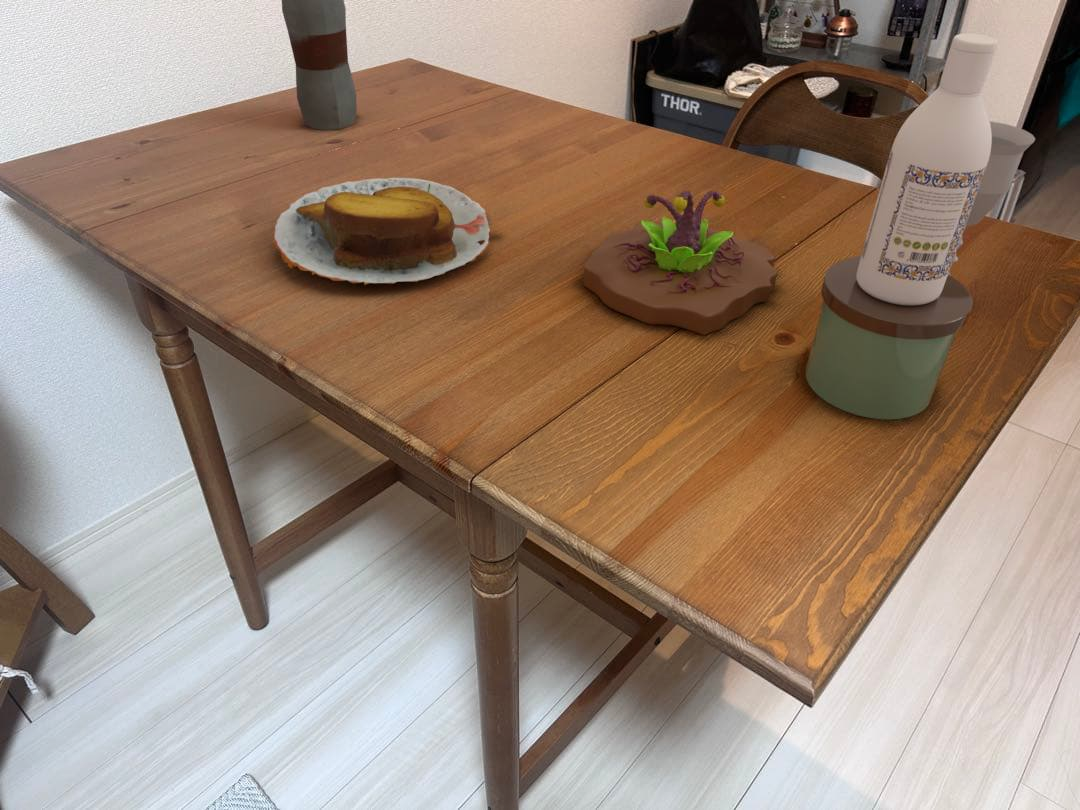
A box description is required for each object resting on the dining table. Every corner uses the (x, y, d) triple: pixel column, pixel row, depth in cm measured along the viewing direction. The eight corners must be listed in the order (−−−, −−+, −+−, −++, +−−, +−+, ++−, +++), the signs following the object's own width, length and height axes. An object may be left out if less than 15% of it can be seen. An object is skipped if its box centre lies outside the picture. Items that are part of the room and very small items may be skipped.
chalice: (980, 298, 88) (1045, 133, 77) (956, 322, 84) (1021, 151, 73) (914, 275, 92) (967, 115, 81) (888, 297, 88) (940, 132, 77)
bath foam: (957, 303, 67) (1053, 48, 55) (882, 312, 66) (963, 53, 54) (910, 264, 73) (987, 24, 61) (839, 272, 72) (904, 28, 59)
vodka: (300, 113, 133) (264, -101, 115) (357, 110, 135) (330, -102, 117) (301, 133, 126) (263, -92, 108) (361, 129, 128) (333, -93, 110)
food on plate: (468, 191, 109) (466, 142, 105) (516, 279, 91) (516, 224, 86) (272, 211, 103) (262, 161, 99) (281, 310, 85) (269, 253, 81)
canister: (959, 385, 75) (998, 291, 69) (893, 441, 69) (929, 342, 63) (845, 332, 82) (870, 242, 76) (775, 378, 76) (797, 284, 70)
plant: (553, 291, 88) (555, 193, 81) (639, 227, 101) (648, 138, 94) (723, 351, 79) (742, 247, 72) (794, 272, 92) (816, 177, 85)
